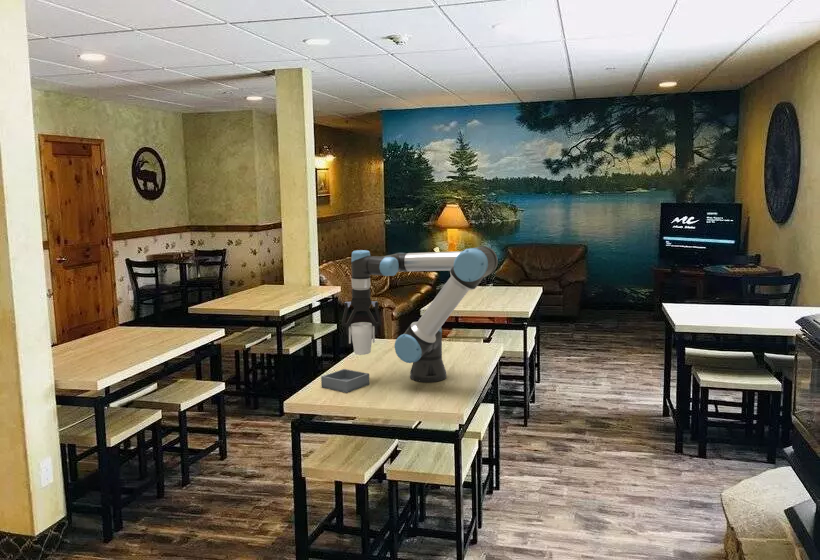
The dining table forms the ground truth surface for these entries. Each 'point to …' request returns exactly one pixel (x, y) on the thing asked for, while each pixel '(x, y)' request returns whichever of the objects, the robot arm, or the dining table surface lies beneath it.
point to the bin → (345, 380)
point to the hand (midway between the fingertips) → (361, 342)
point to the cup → (361, 337)
